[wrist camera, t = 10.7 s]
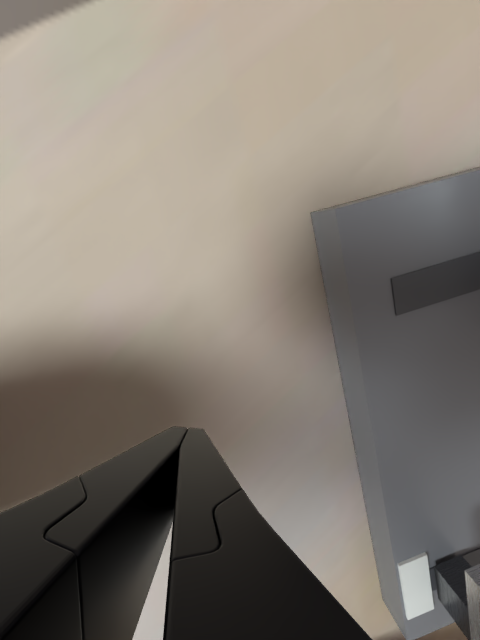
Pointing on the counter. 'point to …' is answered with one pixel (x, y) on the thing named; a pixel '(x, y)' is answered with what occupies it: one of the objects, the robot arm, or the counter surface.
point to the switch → (460, 593)
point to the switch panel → (411, 377)
